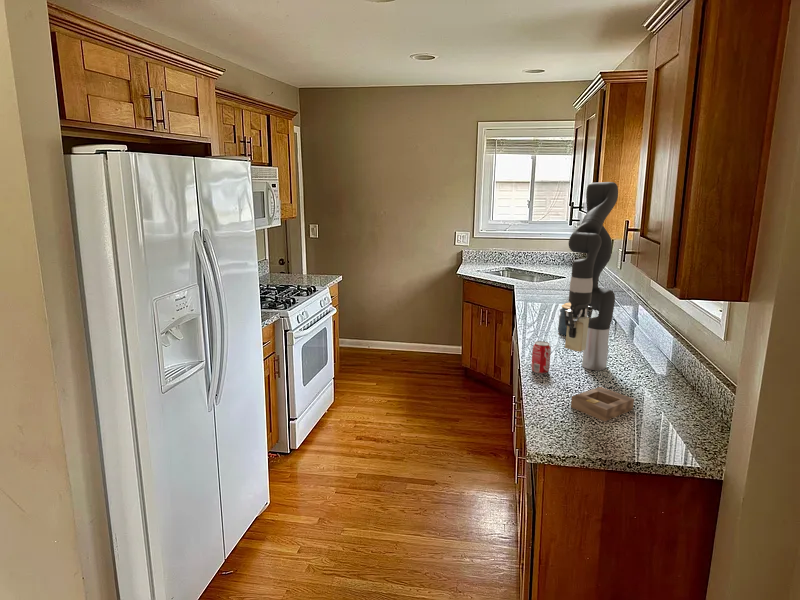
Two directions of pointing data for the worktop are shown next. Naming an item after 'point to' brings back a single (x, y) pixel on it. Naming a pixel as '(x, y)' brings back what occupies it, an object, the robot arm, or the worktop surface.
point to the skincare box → (578, 335)
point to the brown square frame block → (602, 403)
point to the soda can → (541, 357)
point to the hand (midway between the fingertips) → (576, 335)
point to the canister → (563, 319)
